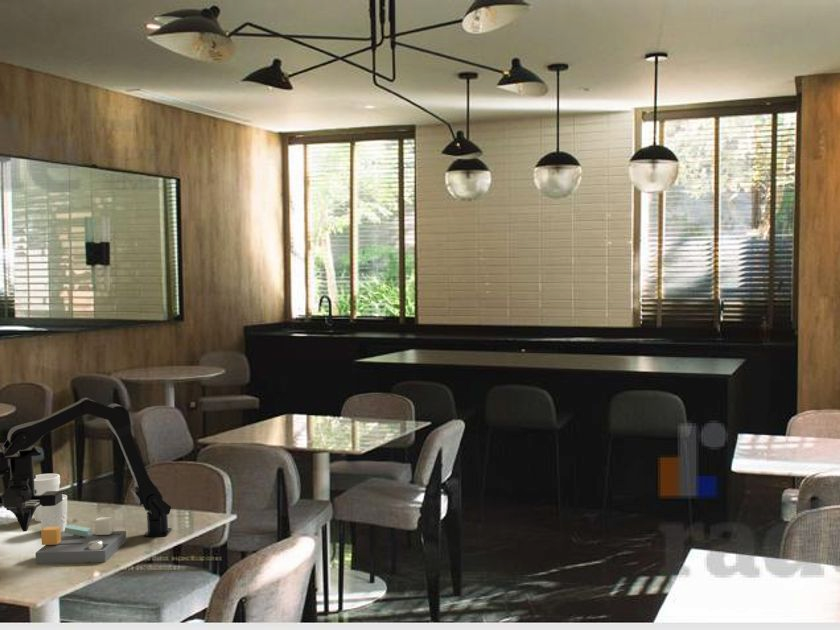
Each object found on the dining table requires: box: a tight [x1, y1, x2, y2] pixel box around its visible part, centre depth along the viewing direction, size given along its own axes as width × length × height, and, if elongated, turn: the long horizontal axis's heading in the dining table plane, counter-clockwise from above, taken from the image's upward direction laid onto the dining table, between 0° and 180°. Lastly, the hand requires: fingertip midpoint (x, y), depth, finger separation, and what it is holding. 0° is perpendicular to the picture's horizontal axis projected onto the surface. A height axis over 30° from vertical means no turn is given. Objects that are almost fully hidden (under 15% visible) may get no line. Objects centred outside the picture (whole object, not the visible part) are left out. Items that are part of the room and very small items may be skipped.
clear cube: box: [89, 540, 103, 550], centre depth 243 cm, size 4×4×4 cm
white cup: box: [39, 493, 68, 533], centre depth 270 cm, size 8×8×10 cm
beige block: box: [94, 516, 114, 535], centre depth 254 cm, size 3×4×4 cm
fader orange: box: [40, 527, 62, 546], centre depth 246 cm, size 3×4×4 cm
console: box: [35, 530, 127, 565], centre depth 248 cm, size 18×18×4 cm
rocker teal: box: [63, 524, 91, 537], centre depth 253 cm, size 3×6×2 cm, turn 91°
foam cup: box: [33, 473, 61, 522], centre depth 284 cm, size 10×9×13 cm
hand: (25, 531), depth 246 cm, fingers closed
